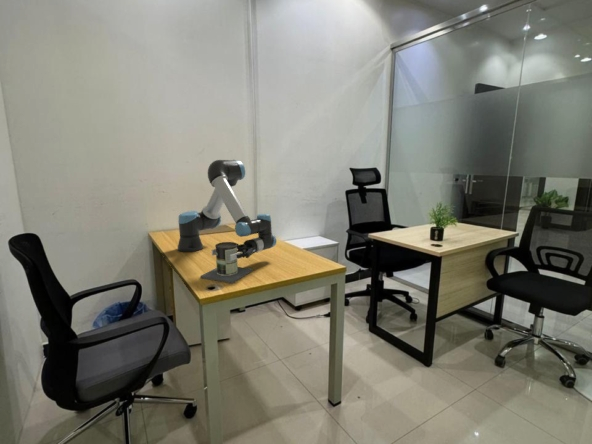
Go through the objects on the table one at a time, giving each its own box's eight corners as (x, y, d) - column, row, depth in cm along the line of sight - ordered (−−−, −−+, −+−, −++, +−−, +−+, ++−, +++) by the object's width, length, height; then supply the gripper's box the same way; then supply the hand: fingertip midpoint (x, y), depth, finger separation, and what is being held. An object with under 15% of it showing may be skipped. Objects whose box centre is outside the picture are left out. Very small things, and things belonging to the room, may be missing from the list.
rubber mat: (200, 277, 149) (200, 275, 148) (223, 266, 165) (222, 264, 165) (232, 283, 142) (232, 281, 142) (252, 270, 158) (252, 269, 158)
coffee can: (215, 276, 148) (213, 247, 145) (218, 269, 158) (217, 242, 155) (237, 275, 148) (236, 247, 146) (239, 268, 159) (238, 241, 156)
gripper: (270, 257, 158) (239, 268, 142) (237, 248, 173) (205, 258, 157) (270, 242, 157) (238, 252, 141) (236, 235, 172) (204, 243, 156)
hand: (221, 255), depth 149 cm, fingers open, 13 cm apart
